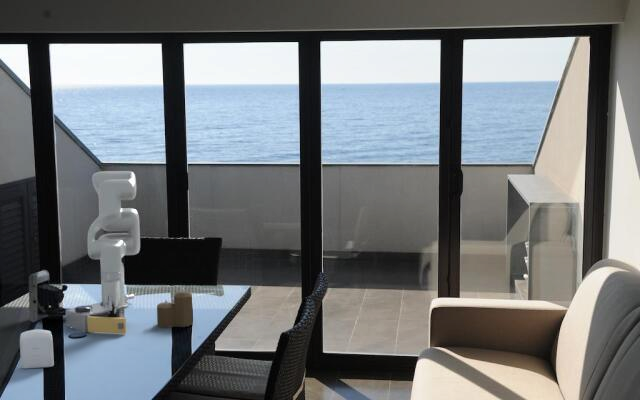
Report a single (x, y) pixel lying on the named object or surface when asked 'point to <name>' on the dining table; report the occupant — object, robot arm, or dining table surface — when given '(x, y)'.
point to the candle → (175, 311)
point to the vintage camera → (44, 297)
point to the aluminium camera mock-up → (77, 315)
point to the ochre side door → (105, 325)
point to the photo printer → (36, 349)
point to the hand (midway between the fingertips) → (113, 322)
